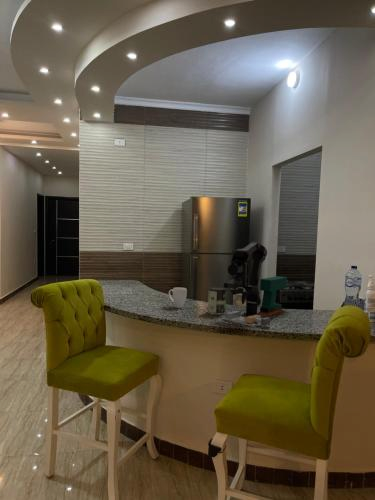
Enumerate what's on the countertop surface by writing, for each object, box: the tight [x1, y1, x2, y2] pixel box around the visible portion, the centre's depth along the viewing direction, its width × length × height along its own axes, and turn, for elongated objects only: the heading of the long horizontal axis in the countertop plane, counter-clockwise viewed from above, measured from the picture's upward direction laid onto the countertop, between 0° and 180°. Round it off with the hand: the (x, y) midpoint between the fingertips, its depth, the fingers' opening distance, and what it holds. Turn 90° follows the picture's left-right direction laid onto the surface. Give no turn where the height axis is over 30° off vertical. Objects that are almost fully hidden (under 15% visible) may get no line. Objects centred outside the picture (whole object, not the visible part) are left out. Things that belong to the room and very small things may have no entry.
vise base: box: [222, 310, 262, 328], centre depth 191 cm, size 10×20×4 cm, turn 44°
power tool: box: [258, 275, 289, 316], centre depth 222 cm, size 32×7×20 cm, turn 141°
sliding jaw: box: [244, 314, 271, 326], centre depth 184 cm, size 9×10×3 cm
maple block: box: [232, 293, 247, 308], centre depth 193 cm, size 4×6×6 cm, turn 134°
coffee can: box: [207, 286, 228, 316], centre depth 209 cm, size 10×10×14 cm
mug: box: [168, 286, 188, 309], centre depth 222 cm, size 12×8×11 cm
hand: (239, 303), depth 193 cm, fingers closed on maple block, 4 cm apart
